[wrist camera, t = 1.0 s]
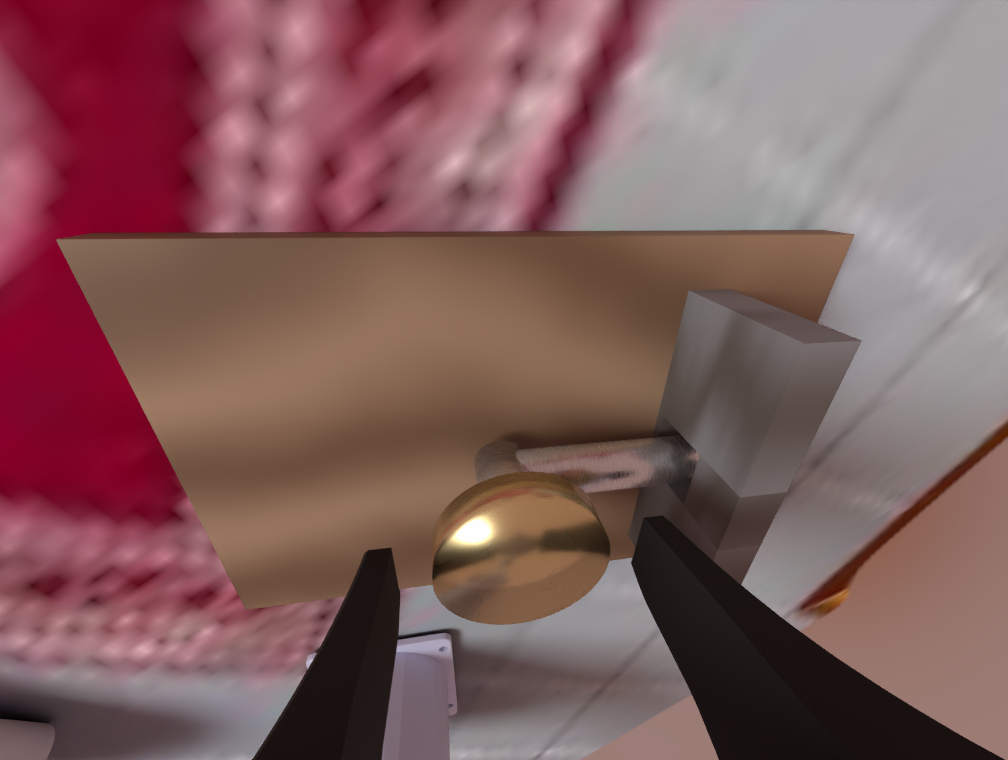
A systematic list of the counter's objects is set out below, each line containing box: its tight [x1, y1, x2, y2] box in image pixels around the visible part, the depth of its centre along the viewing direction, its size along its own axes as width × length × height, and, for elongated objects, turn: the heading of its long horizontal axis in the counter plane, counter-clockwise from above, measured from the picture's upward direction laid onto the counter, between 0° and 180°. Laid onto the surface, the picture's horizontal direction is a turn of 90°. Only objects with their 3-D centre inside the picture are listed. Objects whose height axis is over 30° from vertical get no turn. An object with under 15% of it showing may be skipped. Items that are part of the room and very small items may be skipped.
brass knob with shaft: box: [432, 435, 700, 625], centre depth 13 cm, size 5×13×5 cm, turn 89°
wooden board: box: [56, 230, 861, 610], centre depth 14 cm, size 16×24×6 cm, turn 89°
